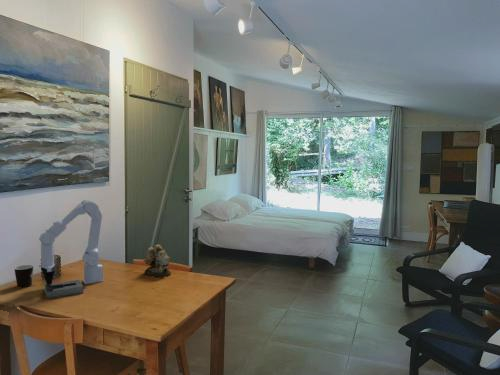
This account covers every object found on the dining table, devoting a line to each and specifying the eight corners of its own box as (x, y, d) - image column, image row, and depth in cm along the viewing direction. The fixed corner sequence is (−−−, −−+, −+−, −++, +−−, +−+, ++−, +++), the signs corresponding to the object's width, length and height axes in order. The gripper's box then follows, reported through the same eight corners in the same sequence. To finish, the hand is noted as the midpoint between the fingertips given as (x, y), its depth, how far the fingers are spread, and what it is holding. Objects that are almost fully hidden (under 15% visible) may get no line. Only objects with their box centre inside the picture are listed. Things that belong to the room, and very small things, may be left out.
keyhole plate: (79, 286, 204) (79, 279, 203) (83, 292, 194) (83, 286, 193) (44, 291, 195) (44, 284, 195) (47, 299, 185) (47, 292, 185)
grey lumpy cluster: (137, 274, 225) (137, 245, 224) (151, 269, 235) (150, 241, 234) (163, 278, 217) (163, 248, 216) (175, 273, 228) (175, 244, 227)
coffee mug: (25, 289, 198) (24, 270, 197) (10, 288, 200) (10, 269, 199) (41, 282, 209) (41, 264, 209) (28, 281, 211) (27, 263, 210)
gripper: (37, 254, 201) (38, 279, 202) (39, 260, 189) (40, 287, 190) (52, 252, 205) (53, 277, 206) (56, 258, 193) (56, 285, 194)
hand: (48, 282), depth 198 cm, fingers open, 6 cm apart
